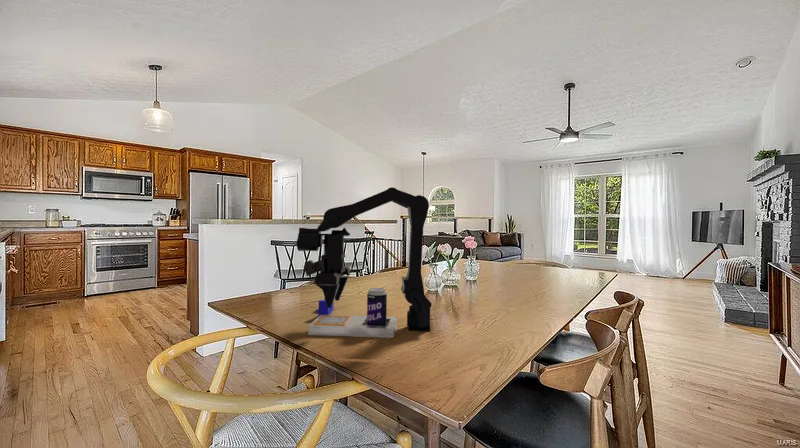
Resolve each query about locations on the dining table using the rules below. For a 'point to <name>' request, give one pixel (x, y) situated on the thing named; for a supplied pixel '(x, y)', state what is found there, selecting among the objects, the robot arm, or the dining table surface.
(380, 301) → the beverage can
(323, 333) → the grey rectangular slab
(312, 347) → the dining table surface
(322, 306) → the cable clip
